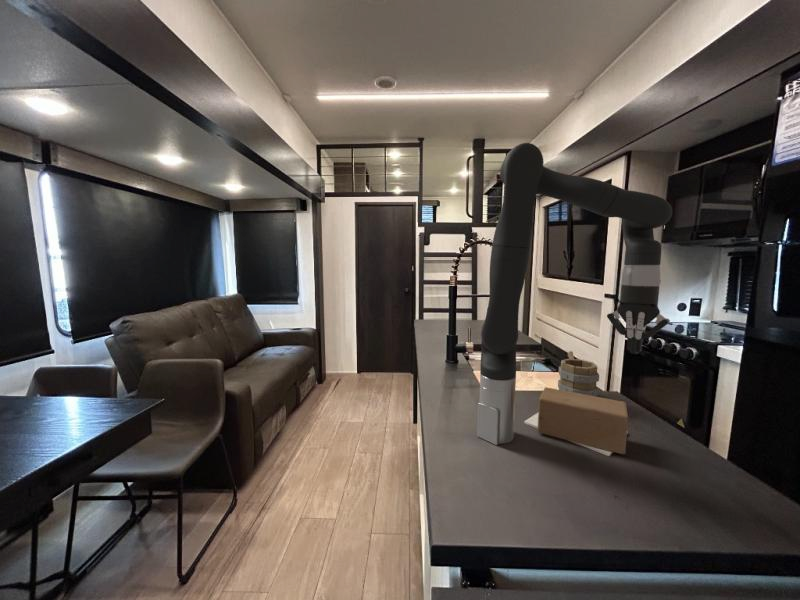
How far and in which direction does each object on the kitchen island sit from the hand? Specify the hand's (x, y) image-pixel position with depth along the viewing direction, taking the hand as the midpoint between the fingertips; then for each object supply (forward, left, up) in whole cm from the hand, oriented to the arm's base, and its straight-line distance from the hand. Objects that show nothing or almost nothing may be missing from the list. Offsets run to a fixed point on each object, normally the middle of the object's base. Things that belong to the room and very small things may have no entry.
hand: (633, 352), depth 80 cm
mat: (0, +13, -25) cm, 28 cm away
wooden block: (-1, 0, -19) cm, 19 cm away
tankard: (+22, +21, -25) cm, 39 cm away
